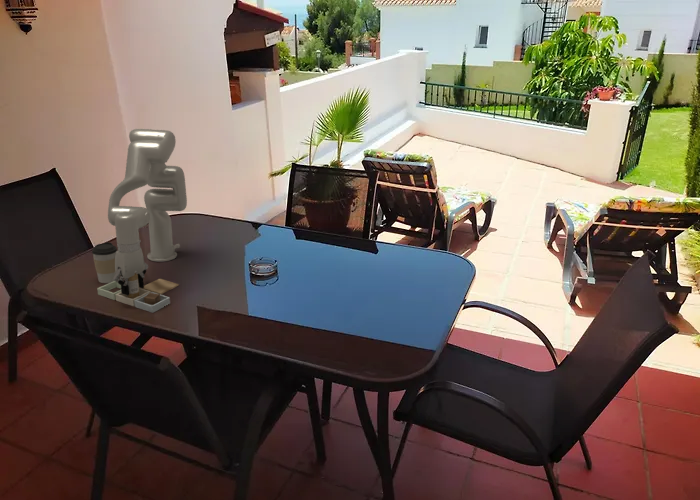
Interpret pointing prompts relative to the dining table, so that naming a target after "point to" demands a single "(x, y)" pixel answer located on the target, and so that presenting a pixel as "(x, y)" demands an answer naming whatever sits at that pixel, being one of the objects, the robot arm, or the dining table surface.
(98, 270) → the coffee cup
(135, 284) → the sprinkles bottle
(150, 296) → the walnut cube
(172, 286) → the coaster
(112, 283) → the tray sage
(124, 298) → the tray cream
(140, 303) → the tray blue
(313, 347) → the dining table surface
